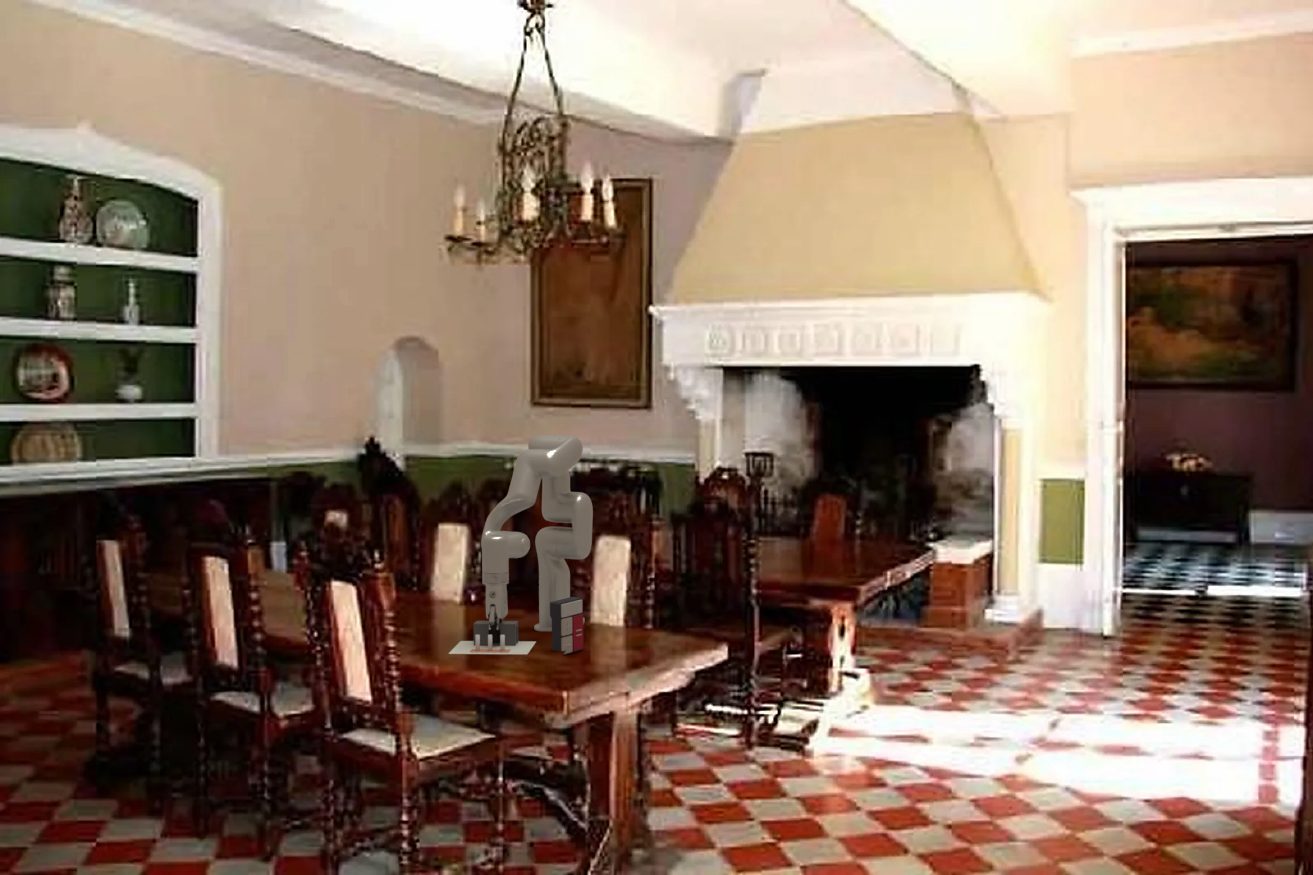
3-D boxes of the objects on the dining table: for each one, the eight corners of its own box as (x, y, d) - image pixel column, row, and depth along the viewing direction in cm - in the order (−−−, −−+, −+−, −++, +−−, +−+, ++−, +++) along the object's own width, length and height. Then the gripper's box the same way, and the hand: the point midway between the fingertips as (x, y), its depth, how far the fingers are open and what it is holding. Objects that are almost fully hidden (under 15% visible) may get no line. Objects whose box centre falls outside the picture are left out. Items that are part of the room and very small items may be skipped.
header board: (536, 646, 402) (536, 626, 402) (527, 659, 384) (527, 638, 384) (460, 646, 403) (460, 625, 403) (448, 659, 385) (448, 637, 385)
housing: (518, 642, 401) (518, 621, 400) (515, 645, 396) (515, 624, 395) (476, 642, 401) (476, 620, 401) (473, 645, 396) (473, 623, 396)
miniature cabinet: (562, 656, 388) (562, 603, 387) (549, 655, 390) (549, 602, 389) (585, 650, 397) (584, 597, 396) (572, 648, 399) (572, 596, 399)
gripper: (503, 582, 389) (504, 647, 390) (513, 573, 406) (513, 635, 407) (477, 582, 389) (477, 647, 390) (487, 573, 406) (488, 635, 407)
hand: (496, 640), depth 399 cm, fingers closed on housing, 4 cm apart
